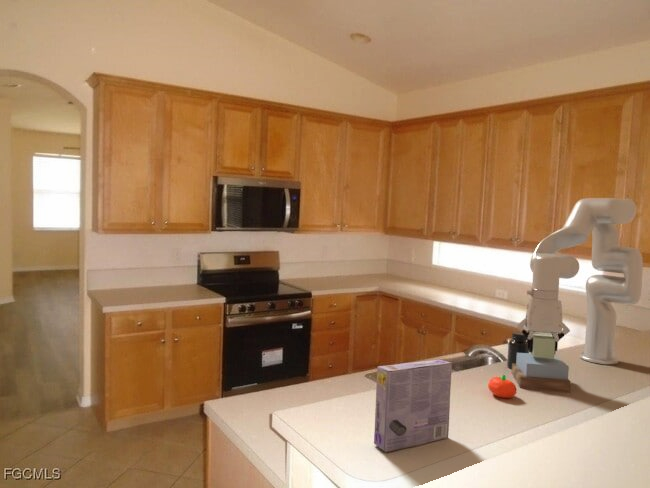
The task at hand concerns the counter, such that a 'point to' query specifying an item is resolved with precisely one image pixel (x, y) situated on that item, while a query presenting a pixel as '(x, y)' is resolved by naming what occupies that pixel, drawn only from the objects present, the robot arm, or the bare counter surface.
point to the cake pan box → (412, 404)
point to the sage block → (543, 346)
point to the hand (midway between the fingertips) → (541, 351)
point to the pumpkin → (502, 387)
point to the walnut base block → (539, 382)
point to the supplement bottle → (516, 347)
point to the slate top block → (542, 366)
